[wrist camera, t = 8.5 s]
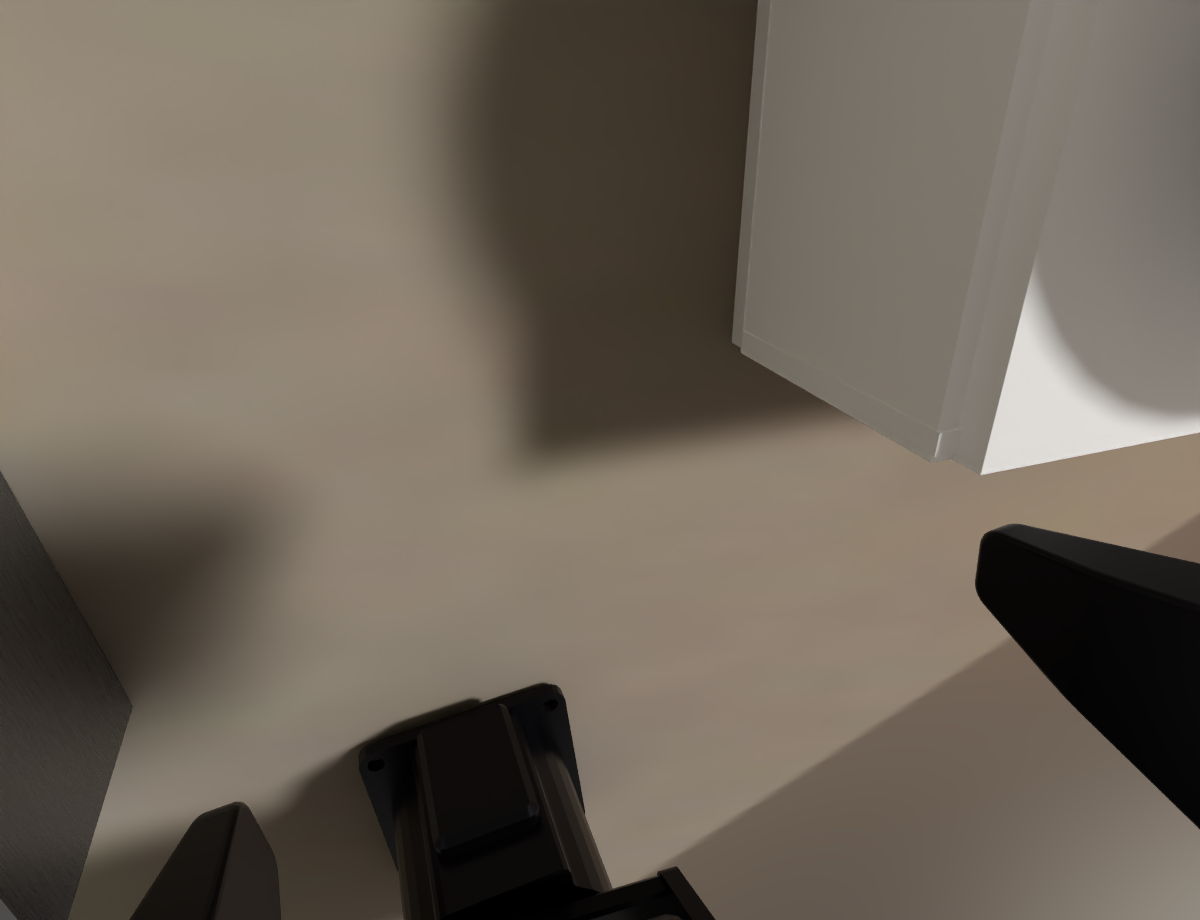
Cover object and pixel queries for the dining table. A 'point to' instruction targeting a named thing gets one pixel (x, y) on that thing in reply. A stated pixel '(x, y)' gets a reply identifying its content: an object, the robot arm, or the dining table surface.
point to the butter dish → (978, 220)
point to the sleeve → (48, 728)
